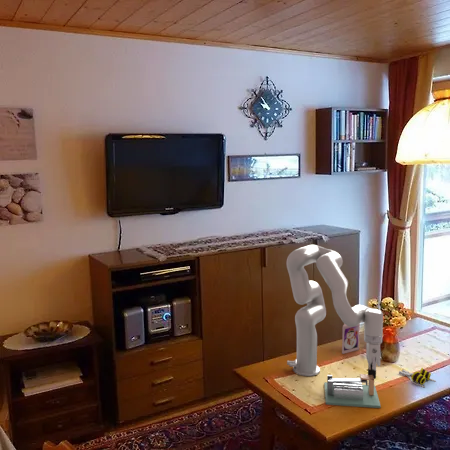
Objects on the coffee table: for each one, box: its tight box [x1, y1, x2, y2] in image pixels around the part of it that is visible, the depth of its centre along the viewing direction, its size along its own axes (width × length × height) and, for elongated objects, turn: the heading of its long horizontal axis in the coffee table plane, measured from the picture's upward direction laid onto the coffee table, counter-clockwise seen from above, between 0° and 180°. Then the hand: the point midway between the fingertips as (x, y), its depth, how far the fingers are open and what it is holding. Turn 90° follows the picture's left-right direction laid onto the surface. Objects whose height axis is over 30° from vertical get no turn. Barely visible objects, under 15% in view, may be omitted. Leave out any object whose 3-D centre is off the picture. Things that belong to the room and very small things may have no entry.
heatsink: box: [326, 374, 363, 400], centre depth 216 cm, size 14×10×6 cm
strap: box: [329, 377, 369, 386], centre depth 215 cm, size 16×3×2 cm, turn 81°
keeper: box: [359, 373, 375, 395], centre depth 216 cm, size 6×4×7 cm
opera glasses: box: [411, 367, 432, 386], centre depth 228 cm, size 10×5×5 cm, turn 134°
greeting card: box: [341, 323, 361, 354], centre depth 263 cm, size 11×7×15 cm, turn 118°
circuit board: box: [323, 381, 381, 409], centre depth 216 cm, size 22×18×1 cm
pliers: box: [398, 369, 437, 388], centre depth 231 cm, size 10×2×15 cm
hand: (371, 377), depth 219 cm, fingers closed
